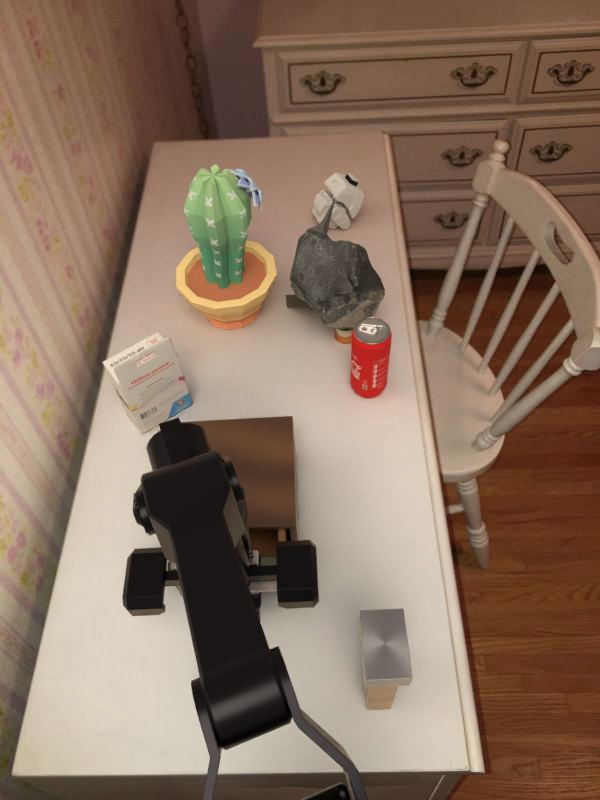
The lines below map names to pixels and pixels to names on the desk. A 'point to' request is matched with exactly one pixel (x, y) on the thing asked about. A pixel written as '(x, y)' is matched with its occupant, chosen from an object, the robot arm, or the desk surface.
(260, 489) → the cabinet
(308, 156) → the desk surface
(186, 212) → the potted cactus
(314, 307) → the narwhal figurine
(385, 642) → the brushed metal block
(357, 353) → the beverage can
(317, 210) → the white faceted figurine
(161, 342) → the ink box
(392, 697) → the stand
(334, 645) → the desk surface
